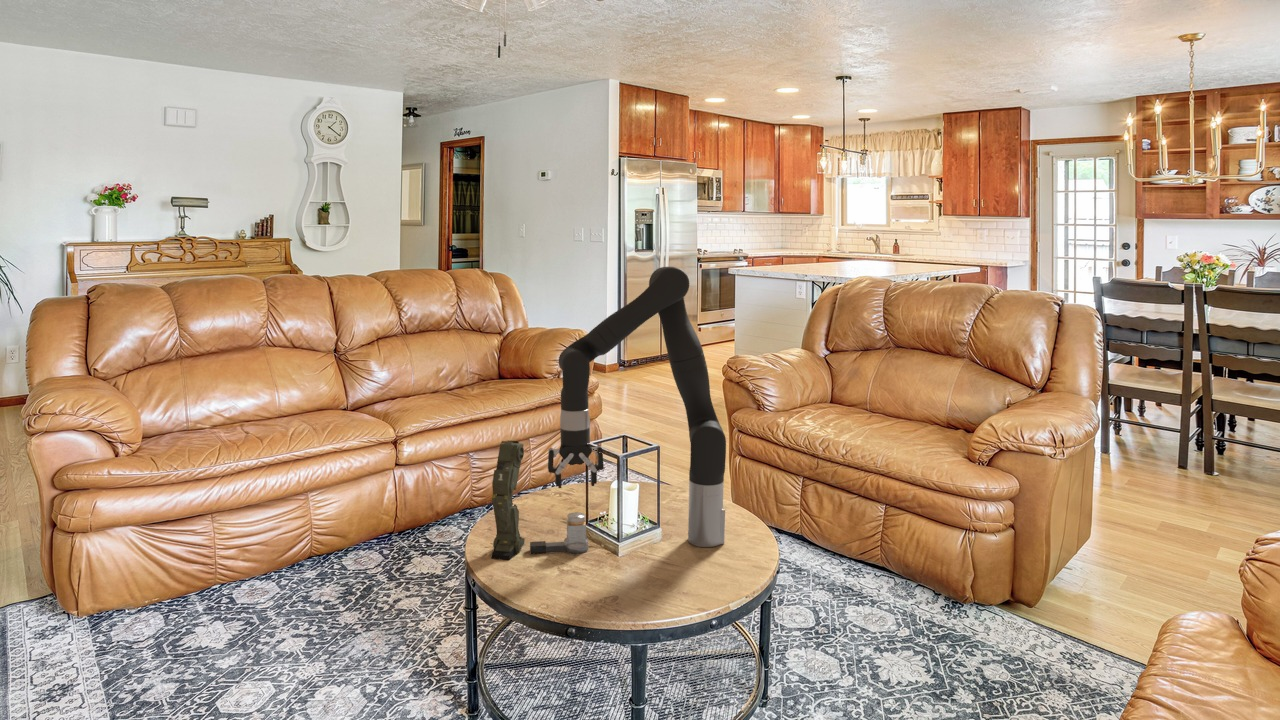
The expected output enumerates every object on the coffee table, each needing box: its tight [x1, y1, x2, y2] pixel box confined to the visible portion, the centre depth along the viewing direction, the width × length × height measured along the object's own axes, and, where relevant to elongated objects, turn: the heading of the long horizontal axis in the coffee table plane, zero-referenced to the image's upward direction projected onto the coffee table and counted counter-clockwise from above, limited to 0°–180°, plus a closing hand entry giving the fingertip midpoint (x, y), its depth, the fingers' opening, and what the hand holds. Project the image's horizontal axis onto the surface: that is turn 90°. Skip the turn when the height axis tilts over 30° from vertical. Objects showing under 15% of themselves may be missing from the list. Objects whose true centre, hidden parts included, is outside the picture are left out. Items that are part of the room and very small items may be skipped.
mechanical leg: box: [490, 440, 525, 561], centre depth 196 cm, size 14×7×30 cm, turn 169°
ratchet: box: [529, 536, 589, 555], centre depth 198 cm, size 15×6×6 cm, turn 100°
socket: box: [566, 511, 587, 544], centre depth 198 cm, size 5×5×7 cm
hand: (576, 486), depth 196 cm, fingers open, 8 cm apart
